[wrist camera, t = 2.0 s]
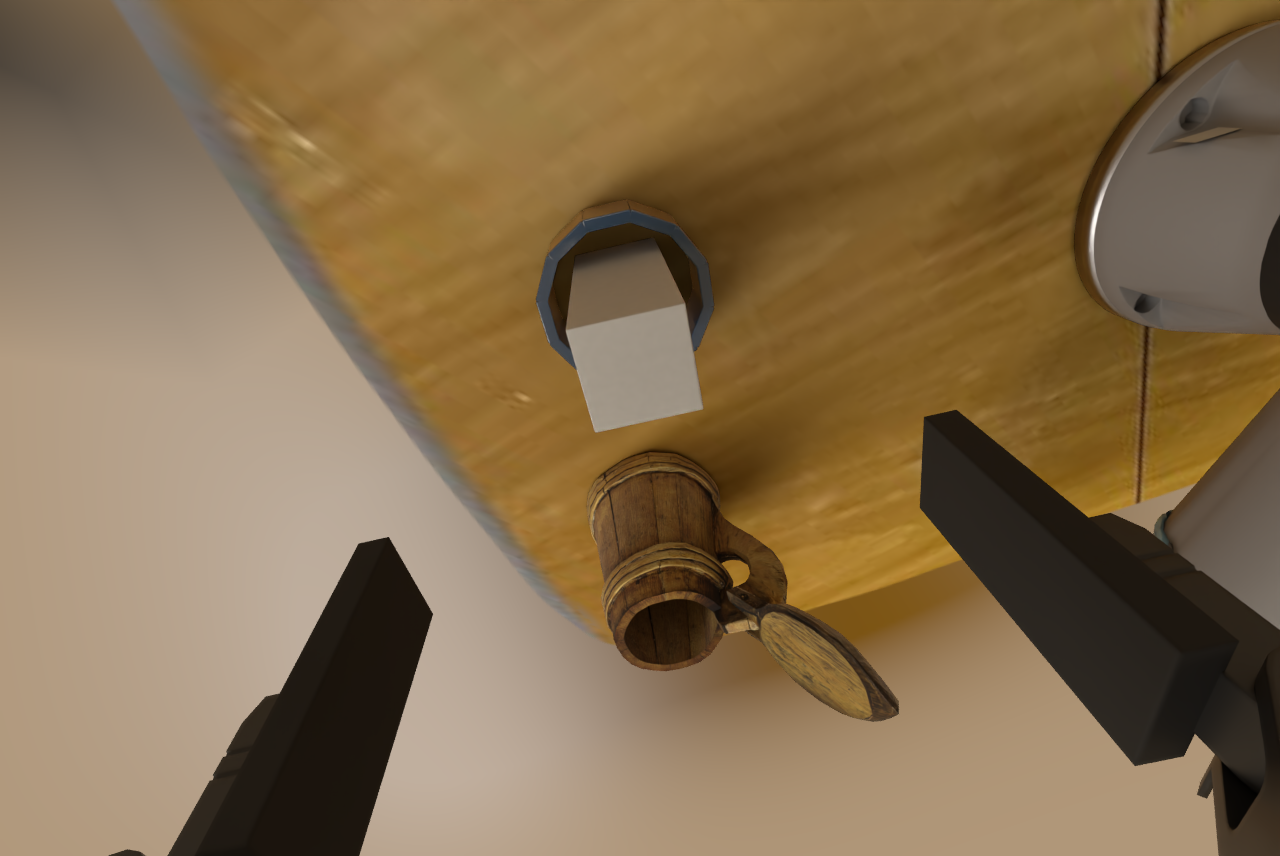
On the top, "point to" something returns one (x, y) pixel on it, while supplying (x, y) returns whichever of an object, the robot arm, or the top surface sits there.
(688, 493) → the wooden mug
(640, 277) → the grey block
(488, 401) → the top surface
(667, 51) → the top surface
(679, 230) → the faceted metal ring
